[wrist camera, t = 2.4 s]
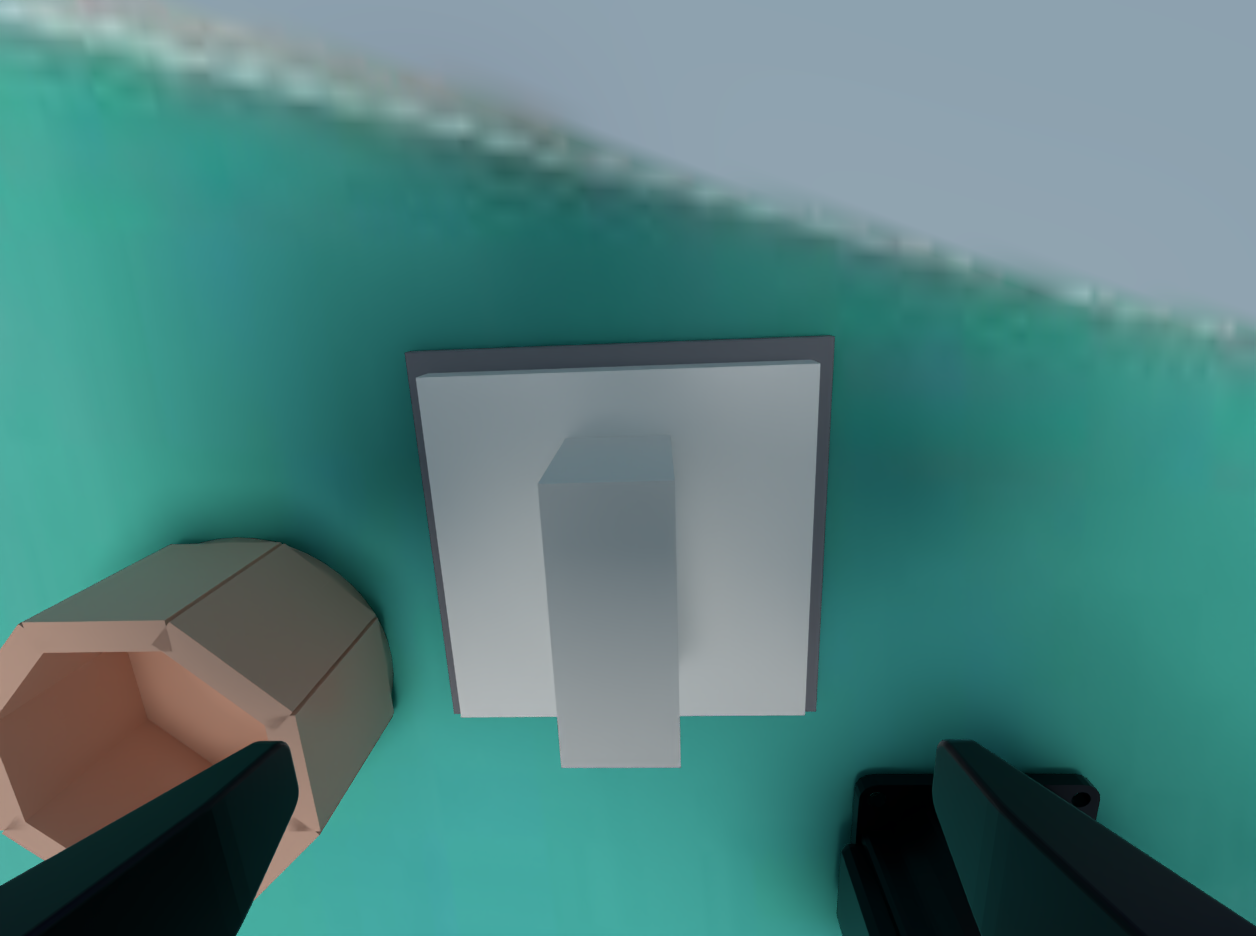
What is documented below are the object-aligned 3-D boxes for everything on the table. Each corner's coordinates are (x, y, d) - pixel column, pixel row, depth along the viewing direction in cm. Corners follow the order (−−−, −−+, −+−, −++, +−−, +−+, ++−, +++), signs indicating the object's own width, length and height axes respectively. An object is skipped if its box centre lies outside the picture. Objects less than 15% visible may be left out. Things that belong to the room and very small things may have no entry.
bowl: (373, 533, 17) (273, 618, 12) (411, 765, 19) (337, 909, 14) (105, 538, 17) (-83, 624, 13) (171, 766, 19) (29, 906, 15)
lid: (811, 359, 14) (874, 387, 10) (797, 695, 17) (844, 828, 13) (427, 372, 15) (339, 404, 11) (469, 698, 17) (411, 826, 13)
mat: (830, 335, 14) (834, 336, 14) (812, 702, 17) (816, 711, 17) (410, 350, 15) (404, 352, 15) (458, 704, 18) (454, 713, 17)
